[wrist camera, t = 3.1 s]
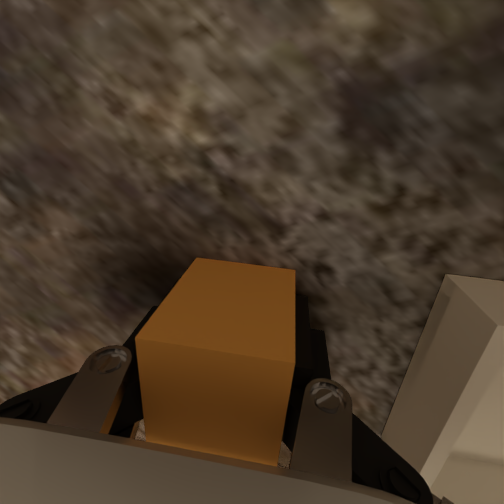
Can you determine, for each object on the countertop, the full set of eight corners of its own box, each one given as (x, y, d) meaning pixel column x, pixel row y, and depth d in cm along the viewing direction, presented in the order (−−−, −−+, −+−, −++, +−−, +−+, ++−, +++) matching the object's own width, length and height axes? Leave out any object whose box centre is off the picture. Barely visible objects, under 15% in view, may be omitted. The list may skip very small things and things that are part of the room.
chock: (295, 269, 11) (295, 362, 7) (280, 365, 13) (273, 487, 9) (196, 257, 12) (134, 337, 7) (196, 352, 14) (148, 462, 9)
